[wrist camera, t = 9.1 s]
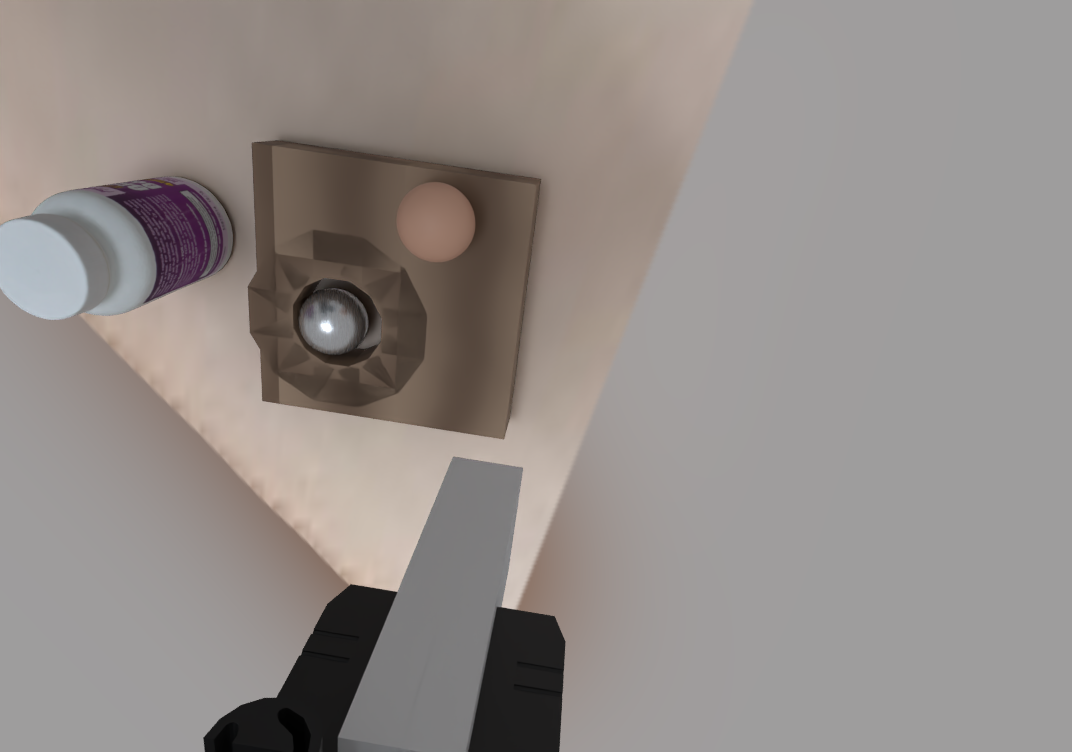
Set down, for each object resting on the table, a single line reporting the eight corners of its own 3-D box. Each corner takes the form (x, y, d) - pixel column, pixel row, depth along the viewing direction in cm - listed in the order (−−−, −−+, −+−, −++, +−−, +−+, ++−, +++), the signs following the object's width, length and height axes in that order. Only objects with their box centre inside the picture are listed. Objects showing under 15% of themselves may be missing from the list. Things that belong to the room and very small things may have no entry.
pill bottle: (188, 153, 32) (30, 169, 23) (257, 245, 33) (133, 295, 24) (115, 210, 33) (-61, 246, 24) (184, 296, 35) (43, 359, 26)
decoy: (406, 247, 30) (384, 264, 27) (410, 172, 29) (387, 180, 26) (477, 258, 30) (463, 276, 27) (484, 184, 29) (471, 193, 25)
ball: (301, 365, 31) (372, 364, 32) (300, 298, 30) (374, 299, 31) (296, 341, 34) (362, 341, 35) (296, 279, 33) (363, 281, 34)
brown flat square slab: (275, 380, 36) (253, 399, 34) (267, 138, 31) (241, 141, 29) (509, 418, 36) (504, 439, 33) (540, 179, 31) (536, 184, 28)
